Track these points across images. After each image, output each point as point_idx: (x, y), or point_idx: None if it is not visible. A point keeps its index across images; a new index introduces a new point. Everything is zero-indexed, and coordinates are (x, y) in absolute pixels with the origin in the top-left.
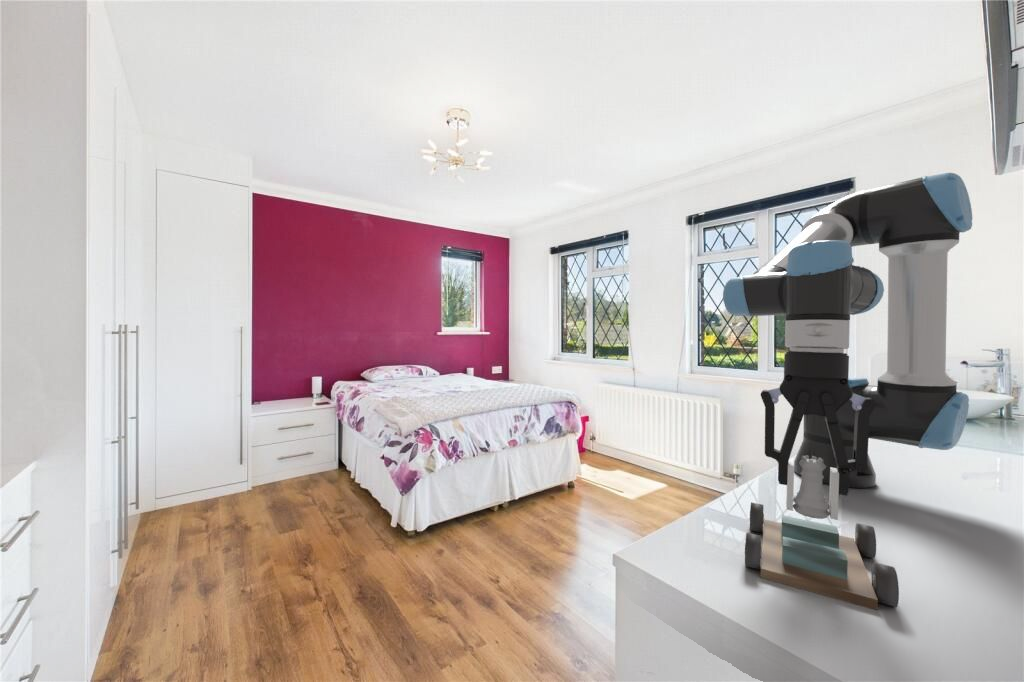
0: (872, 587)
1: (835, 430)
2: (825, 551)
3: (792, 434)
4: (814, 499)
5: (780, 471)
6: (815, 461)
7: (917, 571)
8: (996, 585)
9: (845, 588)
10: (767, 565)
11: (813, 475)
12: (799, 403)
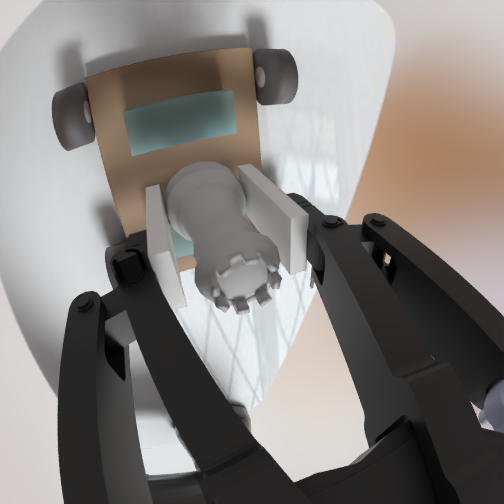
0: (92, 115)
1: (201, 423)
2: (160, 122)
3: (376, 303)
4: (200, 187)
5: (311, 210)
6: (233, 272)
7: (68, 258)
8: (15, 290)
9: (127, 75)
10: (243, 64)
11: (222, 226)
12: (474, 452)
